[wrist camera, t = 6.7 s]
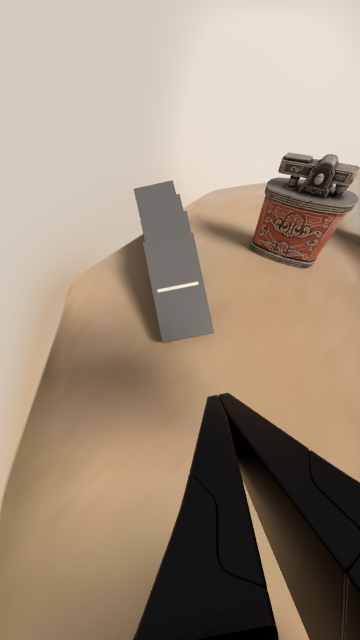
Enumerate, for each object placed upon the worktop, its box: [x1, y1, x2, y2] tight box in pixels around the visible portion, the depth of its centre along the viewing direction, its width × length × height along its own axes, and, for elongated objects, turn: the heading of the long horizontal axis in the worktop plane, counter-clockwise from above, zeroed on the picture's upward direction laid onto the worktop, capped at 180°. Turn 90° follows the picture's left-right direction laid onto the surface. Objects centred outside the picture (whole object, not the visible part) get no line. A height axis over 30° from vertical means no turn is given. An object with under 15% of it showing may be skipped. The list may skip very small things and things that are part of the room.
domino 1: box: [134, 181, 176, 218], centre depth 24 cm, size 2×5×10 cm
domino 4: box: [143, 233, 214, 343], centre depth 19 cm, size 2×5×10 cm
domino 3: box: [141, 211, 191, 242], centre depth 21 cm, size 2×5×10 cm
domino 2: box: [137, 194, 183, 220], centre depth 23 cm, size 2×5×10 cm
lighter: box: [250, 153, 360, 269], centre depth 20 cm, size 8×3×10 cm, turn 56°
